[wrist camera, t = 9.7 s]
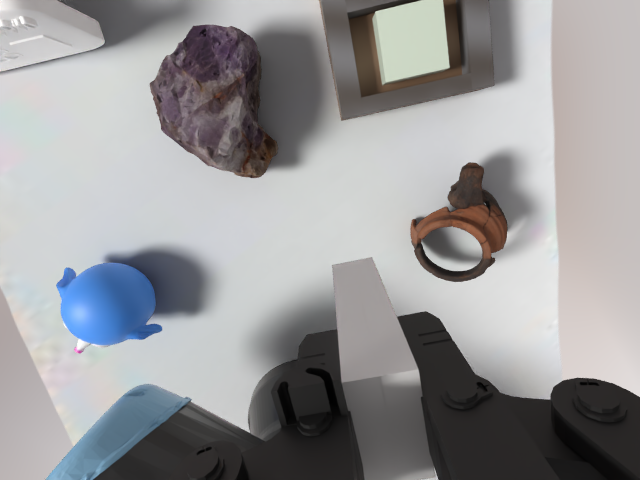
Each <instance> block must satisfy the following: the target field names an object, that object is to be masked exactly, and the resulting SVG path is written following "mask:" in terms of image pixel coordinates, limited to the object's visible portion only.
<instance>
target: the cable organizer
mask: <svg viewBox="0 0 640 480" xmlns="http://www.w3.org/2000/svg"><path fill="white" fill-rule="evenodd" d="M104 43H105V40H104V37H103V34H102V31H101V28H100V25H99V22H98V21H97V20H95V19H93V18H91V17H89V16H87V15H85V14H83V13H81V12H79V11H77V10H75V9H73V8H71V7H69V6H67V5H65V4H63V3H61V2H59V1H57V0H0V72H1V71H5V70H10V69H14V68H18V67H22V66H26V65H31V64H35V63H39V62H43V61H47V60H52V59H56V58H60V57H64V56H68V55H72V54H77V53H81V52H85V51H89V50H93V49H96V48H98V47H100V46H102V45H103V44H104Z"/></svg>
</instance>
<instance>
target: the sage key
mask: <svg viewBox="0 0 640 480" xmlns="http://www.w3.org/2000/svg"><path fill="white" fill-rule="evenodd" d="M372 20H373V27H374V34H375V40H376V47H377V54H378V60H379V67H380V74H381V80H382V85H387V84H391V83H395V82H400V81H404V80H409V79H413V78H417V77H422V76H426V75H431V74H435V73H439V72H443V71H445V70H447V69H449V68H450V66H449V56H448V46H447V36H446V26H445V16H444V6H443V0H421V1H417V2H413V3H408V4H404V5H400V6H396V7H392V8H388V9H384V10H379V11H375V14H374V16H373V18H372Z"/></svg>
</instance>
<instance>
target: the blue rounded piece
mask: <svg viewBox="0 0 640 480" xmlns="http://www.w3.org/2000/svg"><path fill="white" fill-rule="evenodd" d="M56 286H57V289H58V291H59V293H60V296H61V298H62V302H61V316H62V319H63V324H64V326H65V327H66V328H67V329H68V330H69V331H70V332H71V333H72V334H73V335H74V336H76V337H77V338H79V339H78V345H77V346H76V347H75V352H76V353H82V352H83V351H84V349H85V348H86V347H87V346H89V345H90V344H93V345H94V346H97V347H100V348H103V347H108V346H110V345H113V344H117V343H120V342H123V341H125V340H127V339H139V340H142V339H145V338H147V337H148V336H150V335H152V334H154V333H158V332H160V331H162V327H161V326H160V325H158V324H150V325H146V323H147V321H148V320H149V318H150V317H151V316H152V315H153V313H154V310H155V306H156V301H155V292H154V289H153V286H152V284H151V283H150V281H149V280H148V278H147V277H146V276H145V275H144V274H143V273H141V272H140V271H139V270H137V269H135V268H133V267H131V266H128V265H125V264H121V263H103V264H99V265H95V266H93V267H91V268H89V269H87V270H85V271H84V272H82V273H81V274H79V275H78V276H77V277H76V273H75V271H74V270H73V269H71V268H65V270H64V276H63V279H61V280H60V281H59V282H58V283H57V285H56Z"/></svg>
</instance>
